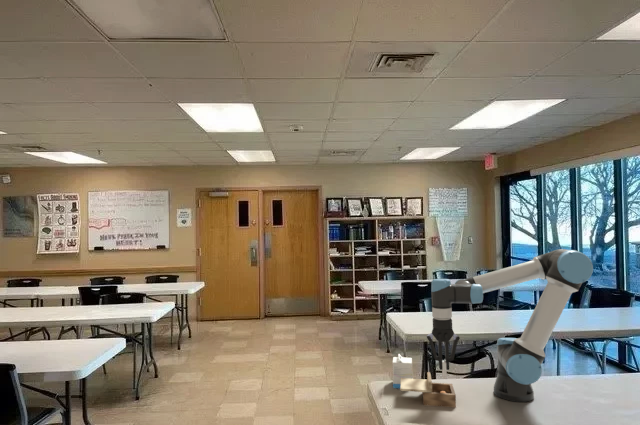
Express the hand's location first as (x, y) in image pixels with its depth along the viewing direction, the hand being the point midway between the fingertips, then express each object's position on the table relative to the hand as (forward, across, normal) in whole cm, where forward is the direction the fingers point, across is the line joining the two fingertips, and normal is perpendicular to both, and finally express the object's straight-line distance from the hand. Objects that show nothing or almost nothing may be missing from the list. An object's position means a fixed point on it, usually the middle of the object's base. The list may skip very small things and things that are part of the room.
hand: (444, 377), depth 169 cm
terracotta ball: (+9, +1, -2) cm, 9 cm away
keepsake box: (+10, +3, 0) cm, 10 cm away
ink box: (+10, +17, -14) cm, 24 cm away
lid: (+4, +11, 0) cm, 12 cm away
